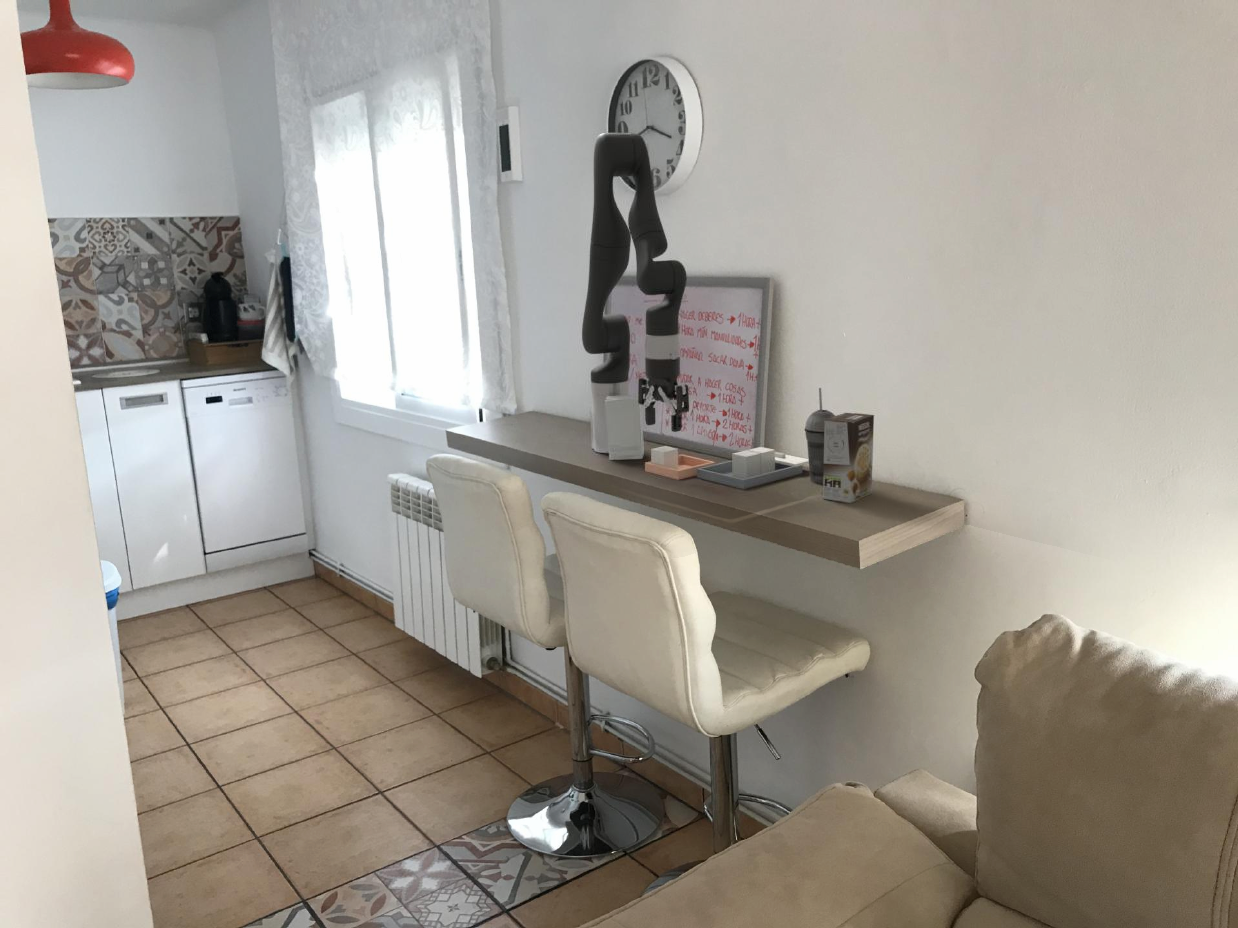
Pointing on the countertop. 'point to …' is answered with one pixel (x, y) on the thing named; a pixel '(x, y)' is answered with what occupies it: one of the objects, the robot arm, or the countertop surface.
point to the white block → (665, 457)
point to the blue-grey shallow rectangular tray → (723, 475)
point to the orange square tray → (679, 467)
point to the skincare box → (624, 427)
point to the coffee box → (848, 457)
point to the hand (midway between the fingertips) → (663, 427)
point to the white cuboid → (745, 464)
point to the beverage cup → (816, 441)
